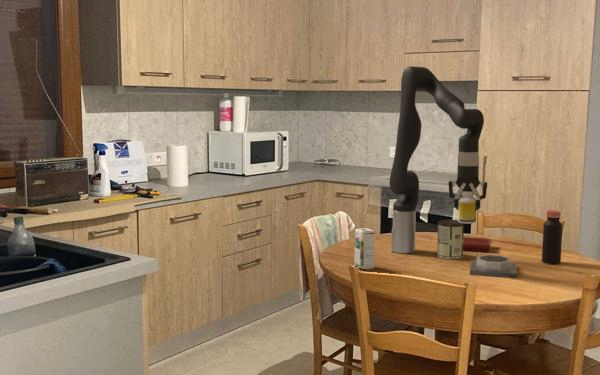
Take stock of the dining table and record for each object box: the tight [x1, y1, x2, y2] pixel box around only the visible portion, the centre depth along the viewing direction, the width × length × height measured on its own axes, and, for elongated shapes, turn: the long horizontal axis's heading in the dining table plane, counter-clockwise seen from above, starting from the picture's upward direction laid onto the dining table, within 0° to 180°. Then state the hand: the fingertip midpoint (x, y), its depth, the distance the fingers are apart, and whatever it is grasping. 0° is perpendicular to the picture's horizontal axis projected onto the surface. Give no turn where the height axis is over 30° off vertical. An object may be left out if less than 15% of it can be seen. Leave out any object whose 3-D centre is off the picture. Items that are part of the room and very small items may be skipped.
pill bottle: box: [457, 191, 477, 225], centre depth 234 cm, size 6×6×12 cm
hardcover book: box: [463, 236, 493, 254], centre depth 271 cm, size 12×21×4 cm, turn 70°
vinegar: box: [541, 209, 563, 265], centre depth 245 cm, size 7×7×20 cm
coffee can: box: [436, 218, 465, 260], centre depth 256 cm, size 10×10×14 cm
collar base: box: [469, 253, 518, 279], centre depth 234 cm, size 16×16×4 cm
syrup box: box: [353, 227, 376, 270], centre depth 238 cm, size 6×6×14 cm
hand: (467, 209), depth 234 cm, fingers closed on pill bottle, 6 cm apart
